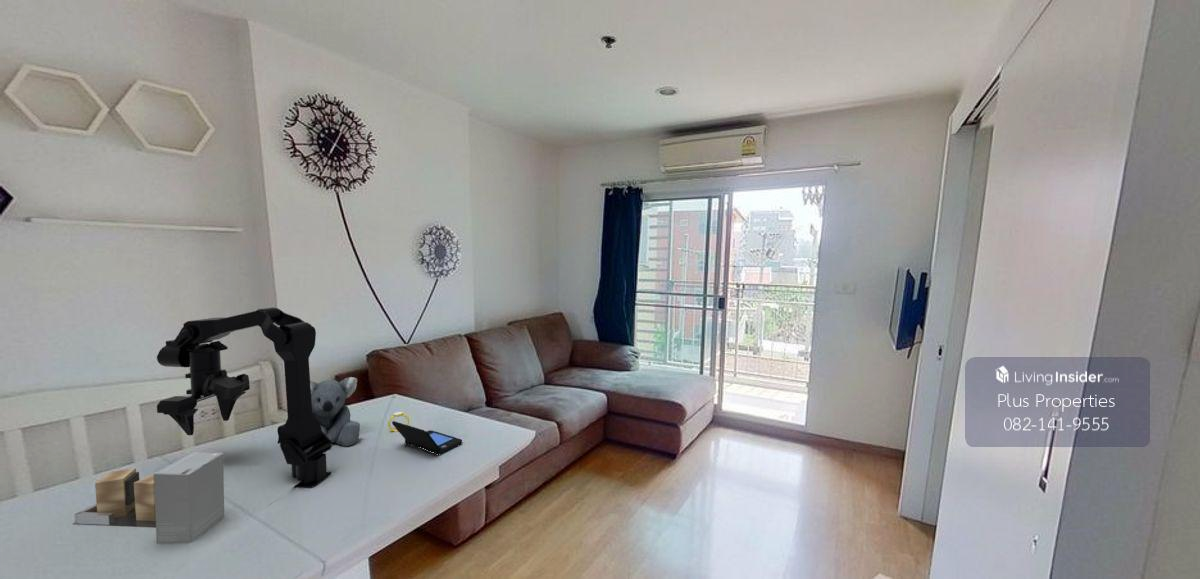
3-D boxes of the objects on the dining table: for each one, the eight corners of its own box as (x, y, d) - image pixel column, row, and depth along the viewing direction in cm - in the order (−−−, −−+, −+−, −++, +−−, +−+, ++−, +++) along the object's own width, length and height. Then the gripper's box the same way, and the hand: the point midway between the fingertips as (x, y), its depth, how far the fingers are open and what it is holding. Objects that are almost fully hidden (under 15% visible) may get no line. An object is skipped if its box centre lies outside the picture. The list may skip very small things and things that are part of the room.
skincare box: (193, 524, 86) (189, 451, 84) (229, 523, 86) (226, 450, 85) (152, 553, 77) (147, 472, 76) (193, 551, 78) (189, 471, 77)
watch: (389, 434, 131) (387, 416, 131) (389, 431, 134) (387, 413, 133) (409, 430, 134) (407, 412, 133) (409, 427, 136) (408, 409, 135)
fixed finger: (180, 506, 89) (178, 471, 88) (154, 521, 84) (152, 483, 83) (160, 505, 89) (158, 470, 89) (133, 520, 84) (130, 482, 84)
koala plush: (288, 458, 114) (285, 389, 113) (298, 434, 130) (296, 373, 128) (360, 445, 123) (358, 381, 121) (361, 424, 138) (359, 367, 137)
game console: (464, 444, 125) (464, 415, 124) (426, 463, 113) (425, 431, 112) (430, 433, 132) (429, 406, 132) (390, 450, 120) (390, 420, 120)
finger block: (142, 502, 90) (139, 467, 90) (129, 514, 86) (127, 478, 85) (112, 507, 88) (109, 472, 88) (97, 520, 84) (95, 483, 83)
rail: (203, 508, 91) (202, 493, 91) (159, 534, 82) (158, 518, 82) (124, 505, 92) (123, 490, 91) (72, 531, 83) (71, 514, 83)
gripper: (198, 379, 94) (202, 444, 95) (267, 359, 113) (269, 414, 114) (152, 378, 95) (156, 443, 96) (228, 358, 113) (231, 413, 114)
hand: (208, 427), depth 105 cm, fingers open, 9 cm apart
